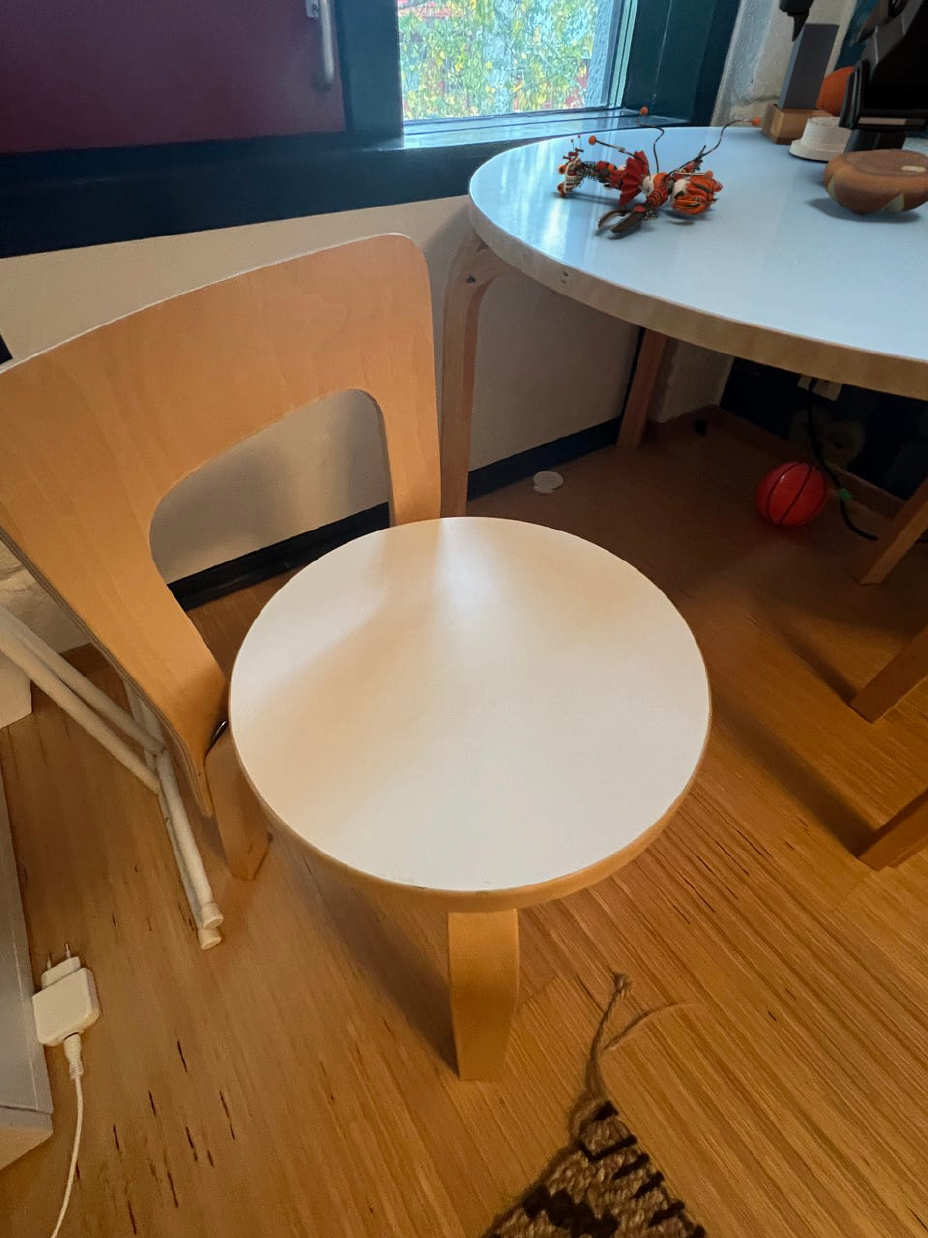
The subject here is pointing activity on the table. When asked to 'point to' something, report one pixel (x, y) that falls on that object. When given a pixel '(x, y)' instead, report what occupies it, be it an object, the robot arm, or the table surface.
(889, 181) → the bread
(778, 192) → the table surface
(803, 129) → the open wooden box
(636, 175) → the striped bug figure
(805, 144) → the mechanical component
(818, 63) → the grey tall block
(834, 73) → the fruit
